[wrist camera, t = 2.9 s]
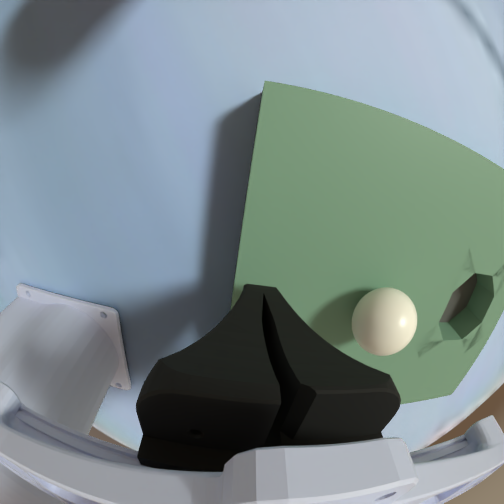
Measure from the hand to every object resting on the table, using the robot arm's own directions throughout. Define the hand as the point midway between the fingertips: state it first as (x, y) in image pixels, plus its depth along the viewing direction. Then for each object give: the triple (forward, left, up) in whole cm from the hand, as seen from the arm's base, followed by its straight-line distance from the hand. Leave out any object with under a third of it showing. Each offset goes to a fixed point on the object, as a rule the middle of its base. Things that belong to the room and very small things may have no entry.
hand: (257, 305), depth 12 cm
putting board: (+9, 0, -4) cm, 10 cm away
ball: (+6, 0, 0) cm, 6 cm away
